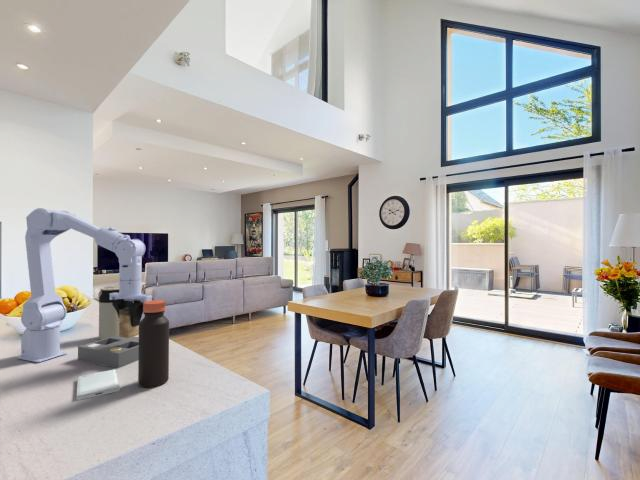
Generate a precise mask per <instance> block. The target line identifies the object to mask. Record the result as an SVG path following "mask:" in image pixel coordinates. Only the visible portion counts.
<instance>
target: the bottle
mask: <svg viewBox="0 0 640 480" xmlns="http://www.w3.org/2000/svg"><path fill="white" fill-rule="evenodd" d="M165 312H166V300H163V299H156V300H155V299H154V300H153V299H152V301H147V302H144V303H143V314H144V317H143V318H141V320H140V323H139V335H138V337H139V353H138V360H137V361H138V362H137V363H138V365H137V366H138V367H137V368H138V369H137V370H138V373H137V375H138V376H137V377H138V379H137V384H138V386H140V387H142V388H149V389H150V388H154V387H159V386H162V385H164V384H165V383H167V382H168V380H169V371H170V369H169V368H170V363H169V361H170V360H169V359H170V356H169V355H170V321H169V319H168V318H167V316H165V315H164V314H165Z"/></svg>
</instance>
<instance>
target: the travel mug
mask: <svg viewBox="0 0 640 480" xmlns="http://www.w3.org/2000/svg"><path fill="white" fill-rule="evenodd" d="M99 290H100V292H101V293H100V295H99V297H98V340H102V339H105V338H108V337H112V336H115V335H118V334H119V316H118V314H117V311H116V310H115V308H114V307H113V305H112V303H113V302H116V301H117V300H110V293H115V292H116V293H119V285H111V286H103V287H99Z"/></svg>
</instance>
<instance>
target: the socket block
mask: <svg viewBox="0 0 640 480" xmlns="http://www.w3.org/2000/svg"><path fill="white" fill-rule="evenodd" d="M138 353H139V336H133V337H130V338H125V337H119V334H118V335H115V336H112V337H108V338H105V339H102V340H101V339H98V340H95V341H93V342H88V343H86V344H82V345H79V346H77V361H79V362H85V363H90V364H91V363H92V364H96V365H101V366H106V367H112V368H118V369H119V368H122V367H125V366H126V365H127V366H128V365H129V364H132V363H134V362H137V361H138Z"/></svg>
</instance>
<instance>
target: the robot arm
mask: <svg viewBox="0 0 640 480" xmlns="http://www.w3.org/2000/svg"><path fill="white" fill-rule="evenodd" d="M25 219H26V220H25V221H26V229H27V230H26V232H25V236H24V239H25V249H26V259H27V266H28V267H27V268H28V269H27V270H28V277H29V286H30V287H29V289H30V297H29V298H28V299H27V300H26V301H25V302H24V303H23V304H22V307H23V309H22V313H21V316H20V320H21V321H20V322H21V324H22V326H24V327H25V329H24V331H23V332H22V333H21V339H20V341H21V342H20V348H21V349H20V355H18V356H17V357H16V358H17V359H18V360H23V361H28V362H33V363H40V362H44V361H47V360H52V359H54V358H57V357H60V356H64V355H67V354H68V352H67V351H64V350H61V325H62V323H63V320H64V319H65V318H66V316H67V314H68V313H67V312H68V310H67V308H66V306H65V304H64V301H63V297H62V296H60V295H59V294H58V293H56V288H55V287H56V286H55V279H54V269H53V267H54V266H53V257H52V249H51V242H52V240H54V239H55V238H56V237H58V236H60V235H62V234H64V233H65V232H68V231H70V230H71V229H72V230H74V231H76V232H79V233H81V234H83V235H86V236H88V237H90V238H93V239H94V242H95V244H96V245H98V246H100V247H102V248H104V249H106V250H109V251H111V252H112V253H115V256H116V257H117V258H118V263H119V269H118V270H119V274H118V275H119V278H118V282H119V283H118V286H119V293H116V292H115V293H110V300H117V301H116V302H113V303H112V305H113V307H114V308H115V310H116V311H117V314H118V316H119V309H124V308H129V311H130V316H131V326H132V327H135V326H138V325H139V323H140V321H141V320H142V316H143V314H144V312H143V303H144V302H147V301H153V295H150V294H145V293H142V276H143V275H142V274H143V273H142V268H143V267H142V266H143V265H142V262H143V261H142V260H143V259H142V258H143V256H144V255H145V252H146V249H147V248H146V244H145V243H144V242H143V241H142V240H140V239H139V238H133V239H131V236H130V235H128V234H123V233H120V232H119V231H117V228H115V227H112V226H111V227H110V226H109V227H105V226H104V227H103V228H100V227H99V226H97V225H95V224H93V223H91V222H89V221H87V220H86V219H84V218H82V217H80V216H78V215H77V214H75V213H72V212H70V211H66V210H57V209H56V210H55V209H45V208H39V207H38V208H36V209H34V210H32V211H31V212H30V213H29V214H28V215H27V216H26V217H25Z"/></svg>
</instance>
